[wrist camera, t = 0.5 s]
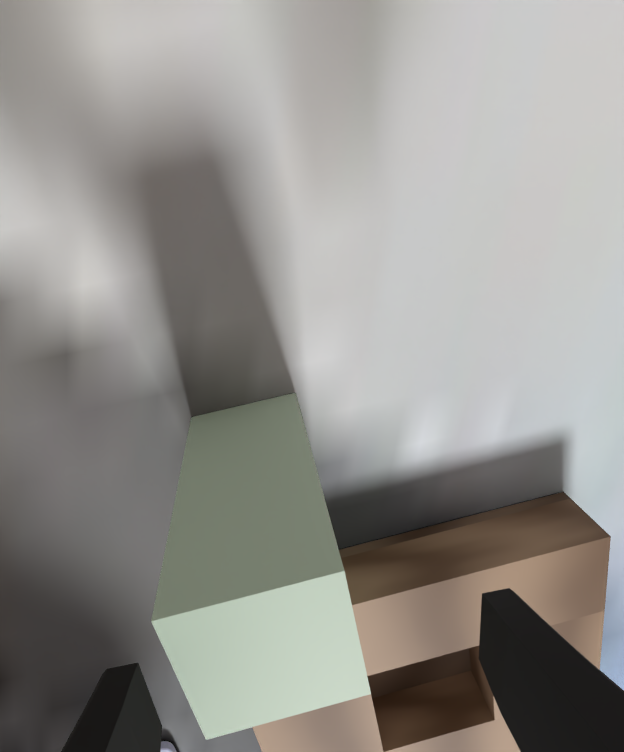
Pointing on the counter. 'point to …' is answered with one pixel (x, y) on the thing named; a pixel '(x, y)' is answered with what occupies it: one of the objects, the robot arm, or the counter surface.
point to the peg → (255, 575)
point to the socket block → (452, 626)
